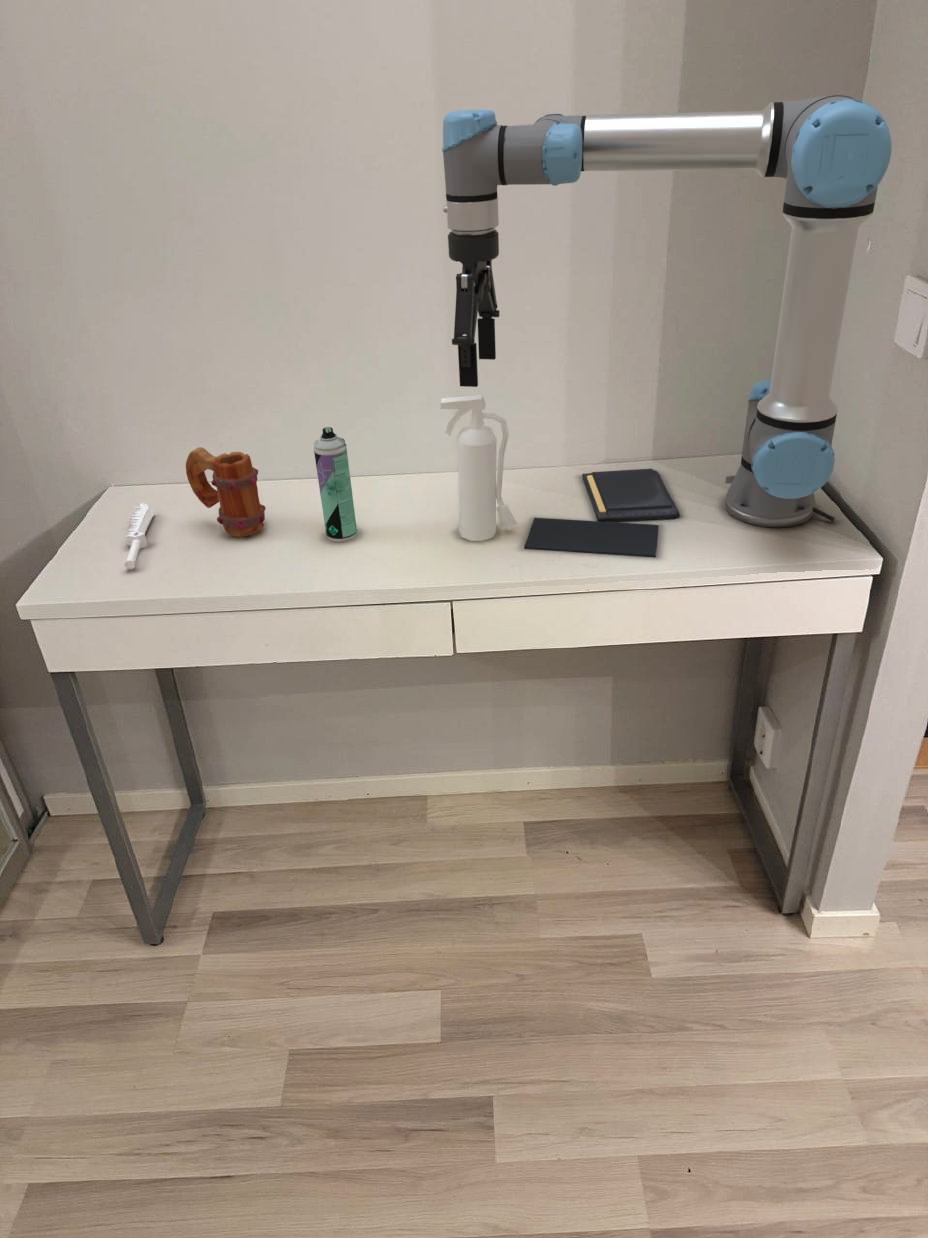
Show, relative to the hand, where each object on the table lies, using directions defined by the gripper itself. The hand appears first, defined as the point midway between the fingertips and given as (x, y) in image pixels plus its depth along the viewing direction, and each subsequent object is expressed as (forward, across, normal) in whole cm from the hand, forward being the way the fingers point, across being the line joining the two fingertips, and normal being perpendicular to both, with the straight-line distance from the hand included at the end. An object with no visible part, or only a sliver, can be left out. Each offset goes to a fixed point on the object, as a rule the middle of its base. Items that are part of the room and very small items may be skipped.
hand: (478, 371), depth 145 cm
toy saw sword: (+29, +14, -61) cm, 69 cm away
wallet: (+29, -17, +24) cm, 41 cm away
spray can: (+29, +6, -25) cm, 38 cm away
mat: (+28, 0, +19) cm, 34 cm away
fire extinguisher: (+29, +2, 0) cm, 29 cm away
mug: (+29, +6, -46) cm, 54 cm away
